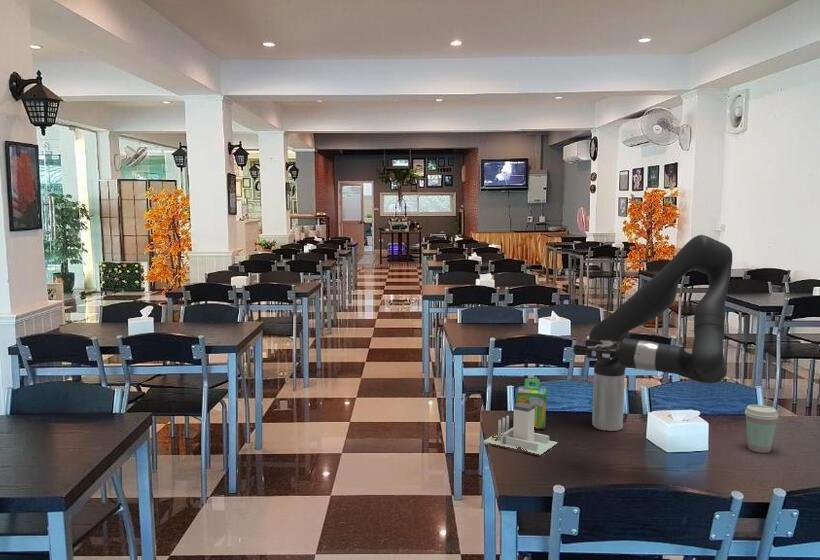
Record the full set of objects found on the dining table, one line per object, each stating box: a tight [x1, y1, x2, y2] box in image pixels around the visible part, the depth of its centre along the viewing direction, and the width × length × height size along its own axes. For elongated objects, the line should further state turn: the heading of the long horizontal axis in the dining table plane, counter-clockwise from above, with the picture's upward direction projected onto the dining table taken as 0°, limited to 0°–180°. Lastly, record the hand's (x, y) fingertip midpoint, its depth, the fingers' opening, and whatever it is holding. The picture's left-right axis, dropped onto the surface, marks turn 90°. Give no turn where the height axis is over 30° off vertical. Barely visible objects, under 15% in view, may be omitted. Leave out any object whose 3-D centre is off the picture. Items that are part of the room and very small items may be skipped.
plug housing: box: [512, 402, 535, 442], centre depth 192 cm, size 4×4×11 cm
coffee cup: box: [744, 404, 779, 454], centre depth 190 cm, size 8×9×12 cm
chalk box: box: [515, 378, 548, 429], centre depth 210 cm, size 9×9×15 cm
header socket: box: [482, 415, 559, 455], centre depth 193 cm, size 12×18×7 cm, turn 55°
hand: (579, 346), depth 181 cm, fingers open, 8 cm apart
